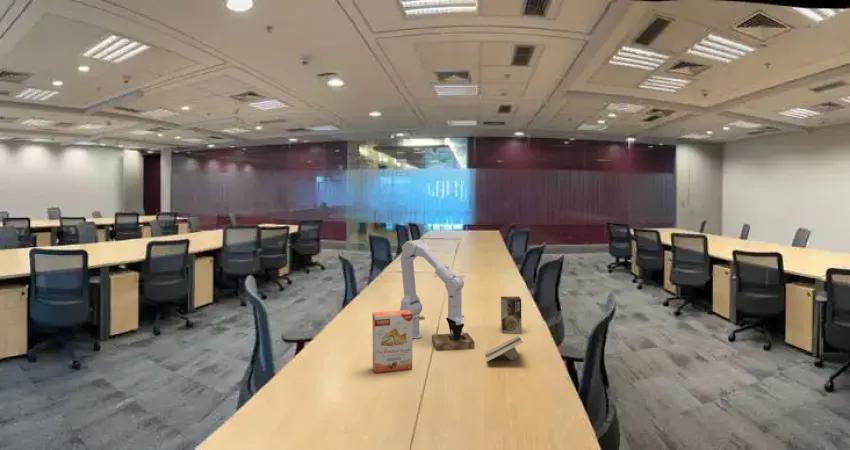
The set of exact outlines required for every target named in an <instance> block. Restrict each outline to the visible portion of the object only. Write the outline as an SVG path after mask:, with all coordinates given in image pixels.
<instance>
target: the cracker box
mask: <svg viewBox="0 0 850 450" xmlns="http://www.w3.org/2000/svg"><path fill="white" fill-rule="evenodd" d="M372 369H373V372H374V374H380V373H388V372H399V371H408V370H409V371H410V370H413V338H412V313H411V312H410V311H409V310H403V311H400V310H388V311H376V312H375V311H374V312H372Z"/></svg>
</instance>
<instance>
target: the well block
mask: <svg viewBox="0 0 850 450" xmlns="http://www.w3.org/2000/svg"><path fill="white" fill-rule="evenodd" d="M460 339H463V340H451V334H450V333H439V334H431V343H432V344H433V346H434V349H435V350H436V352H438V351H439V352H440V351H456V350H458V351H459V350H475V349H476V347H475V340H474V339H473V338H472V337H471V335H470V334H469V333H468V332H461V335H460Z"/></svg>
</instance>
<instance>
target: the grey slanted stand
mask: <svg viewBox="0 0 850 450" xmlns="http://www.w3.org/2000/svg"><path fill="white" fill-rule="evenodd" d="M523 343H524V341H523V340H522V339H521V337H520V335H517V336H515V337H513V338H511V339H508V340H507V341H505V342H503V343H502V344H500V345H497V346H495V347H493V348H492V349H489V350H488V351H486V352H485V353H484V354H485V356H486V361H487V362H489V361H491V360H493V359H495V358H497V357H499V356H501V355H504V356H505V357H506V358H508V359H509V360H510V361H513V360H515V359H517V358H519V357H520V355H519V353H518V351H517V349H516V347H517V346H519V345H521V344H523Z"/></svg>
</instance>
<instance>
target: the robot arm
mask: <svg viewBox="0 0 850 450" xmlns="http://www.w3.org/2000/svg"><path fill="white" fill-rule="evenodd" d="M429 247H430V246H429V245H428V243H426V242H425V241H424V240H423V239H420V238H419V239H415V240H407V241H406V242H405V243H403V244H402V246H401V248H402V252H401V255H400V264H401V265H400V267H401V275H402V277H401V278H402V284H403V285H402V286H403V287H402V288H403V298H402V299H401V301H400V308H399V311H403V310H409V311H410V312H411V313H412V339H421V338H422V336H421V333H420V316H421V312H422V311H423V304H422V303H421V298H420V296H418V295H417V287H416V280H415V279H416V278H415V268H414V260H415V259H416V258H417V257H422V258H424V259H425V260H426V262H428V264H429V265H430V266H432V267H433V268H434V269H435V272H434V273H435V274H436V276H438V277H439V278H440V280H441V281H442V282H443V283H444V285H445V289H446V292H447V317H446V318H445V319H446V322H447V324H448V325H447V326H448V329H449V334H451V329H452V330H453V336H454V340H459V339H460V335H461V333H462V331H463V328H464V327H465V323H462V318H465V315H464V314H462V311H463V310H462V305H463V304H462V289H463V288H464V287H465V286H464V285H465V282H464V280H463V278H462V277H461V276H460V275H457V274H456V273H454V272H453V271H452V270H451V269H450V266H449V265H448V264H445V263H441V262H440V260H439V259H438V258H437V256H436V255H435V254H434V253H433V252H432V250H431V249H430V248H429Z"/></svg>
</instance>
